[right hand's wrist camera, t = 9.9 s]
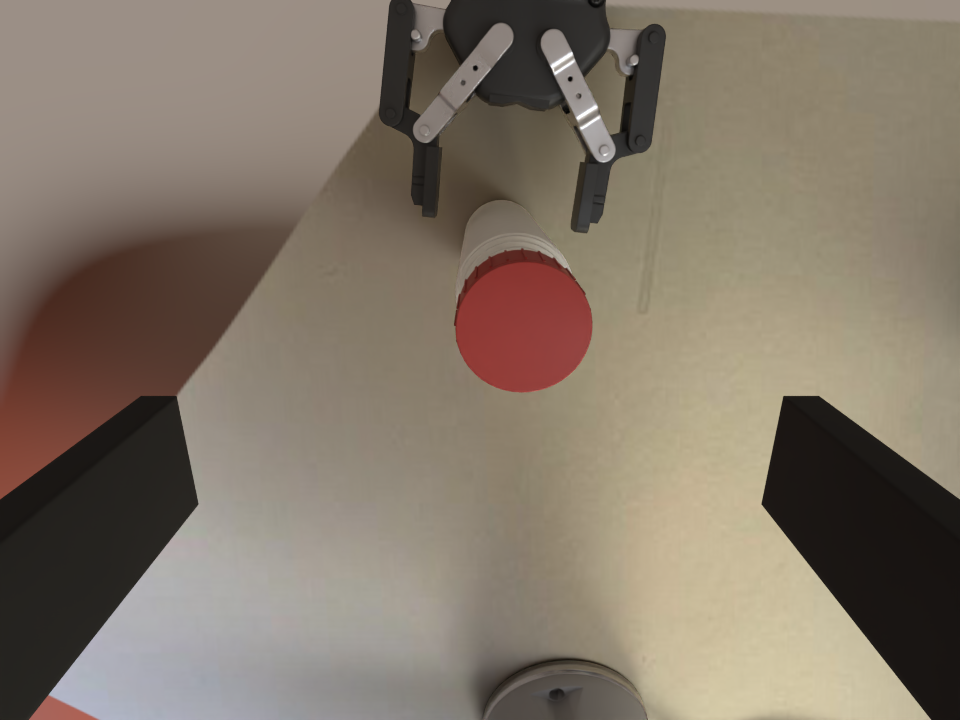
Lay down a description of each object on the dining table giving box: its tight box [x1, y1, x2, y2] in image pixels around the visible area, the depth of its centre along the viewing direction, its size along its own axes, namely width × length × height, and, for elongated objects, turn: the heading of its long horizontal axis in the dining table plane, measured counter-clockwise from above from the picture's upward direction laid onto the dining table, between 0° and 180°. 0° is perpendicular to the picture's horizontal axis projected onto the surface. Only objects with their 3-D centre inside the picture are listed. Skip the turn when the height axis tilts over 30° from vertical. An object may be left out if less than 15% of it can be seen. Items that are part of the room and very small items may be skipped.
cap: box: [454, 248, 592, 392], centre depth 20 cm, size 5×4×2 cm
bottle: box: [455, 200, 572, 304], centre depth 29 cm, size 5×5×21 cm
